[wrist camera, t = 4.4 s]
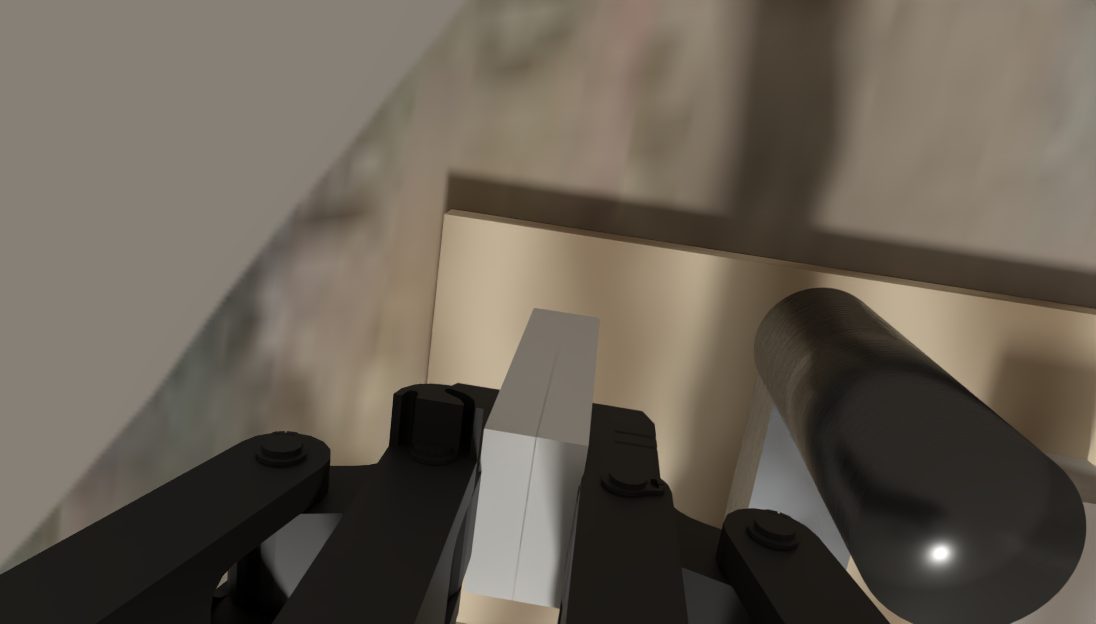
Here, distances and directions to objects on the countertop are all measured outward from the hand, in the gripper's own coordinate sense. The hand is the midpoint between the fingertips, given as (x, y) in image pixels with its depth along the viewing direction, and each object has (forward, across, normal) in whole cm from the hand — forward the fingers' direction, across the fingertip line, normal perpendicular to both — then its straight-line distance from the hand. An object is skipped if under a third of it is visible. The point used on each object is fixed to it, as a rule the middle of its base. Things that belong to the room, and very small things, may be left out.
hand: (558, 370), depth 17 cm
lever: (+9, +7, -6) cm, 13 cm away
